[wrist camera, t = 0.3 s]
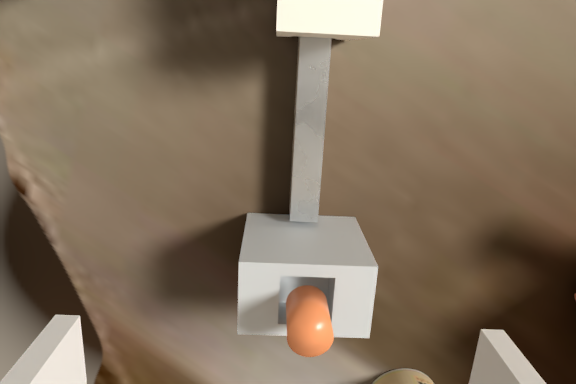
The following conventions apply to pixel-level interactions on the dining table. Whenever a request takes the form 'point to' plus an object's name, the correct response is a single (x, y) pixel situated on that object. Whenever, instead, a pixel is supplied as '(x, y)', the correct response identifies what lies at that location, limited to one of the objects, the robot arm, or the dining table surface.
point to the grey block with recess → (305, 272)
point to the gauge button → (308, 321)
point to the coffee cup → (403, 377)
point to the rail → (309, 127)
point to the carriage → (329, 18)
